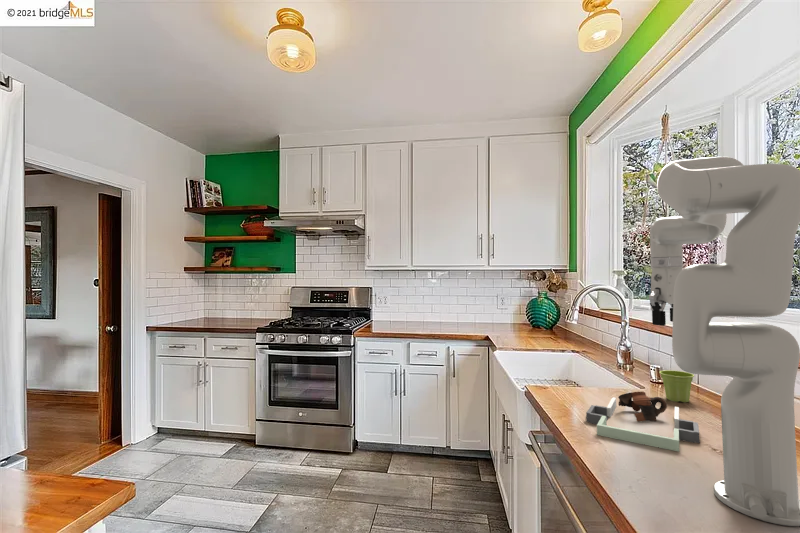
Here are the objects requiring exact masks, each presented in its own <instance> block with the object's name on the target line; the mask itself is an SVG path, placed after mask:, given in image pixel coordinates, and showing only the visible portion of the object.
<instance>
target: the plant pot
mask: <svg viewBox="0 0 800 533" xmlns="http://www.w3.org/2000/svg"><path fill="white" fill-rule="evenodd" d="M659 374H660V376H661V378H662V382H663V388H664V393H665V398H666V399H667V400H669V401H671V402H677V403H678V402H681V403H689V402H690V399H691V398H690V396H691V391H692V390H691V389H692V382H693V378H694V377H695V374H692V373H688V372H686V371H683V370H681V371H680V370H671V369H670V370H667V369H666V370H660V371H659Z"/></svg>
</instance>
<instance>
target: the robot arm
mask: <svg viewBox="0 0 800 533" xmlns="http://www.w3.org/2000/svg"><path fill="white" fill-rule="evenodd" d="M656 188H657V189H656V190H657V193H658V196H659V198H660V199H661V200H662V201H663V202H664V203H665V204H666V205H668V206H670V208H672V209H673V210H675V211H676V212H677V214H678V215H679V216H669V217H668V216H667V217H660V218H657V219H656V220H654V222H651V224H650V225H649V236H650V237H649V239H650V240H649V241H650V242H649V243H650V270H651V280H650V294H649V295H648V299H649V305H650V310H651V320H652V325H653V326H654V325H655V326H662V327H663V326H666V321H667V320H666V311H665V307H666V305H667V304H668V305H670V306H671V307H669V321H670V322H672V336H671V338H672V340H671V341H672V342H671V346H672V348H671V349H672V354H673V359H674V361H675V364H676V365H677V366H678V368H679V369H680V370H681V371H682V372H687V373H691V374H693V375H703V376H718V377H719V376H720V377H733V378H732V380H731V381H730V382H729V383H728V384H727V385H726V387H725V388H724V390H723V392H722V394H721V398H720V411H721V414H720V415H721V416H720V417H721V440H722V458H723V460H722V461H723V479H721V480H719V481H716V482H715V483H714V484H713V493H714V495H715V497H717V499H718V500H719V501H720V502H721V503H722V504H724V505H726V506H727V507H729V508H731V509H733V510H735V511H737V512H739V513H741V514H743V515H746V516H748V517H751V518H753V519H757V520H760V521H762V522H767V523H771V524H774V525H781V526H789V527H800V499H799V485H798V484H799V483H798V480H799V479H798V464H797V460H798V458H797V443H796V427H795V426H796V425H795V424H796V422H795V421H796V420H795V419H796V418H795V387H796V386H795V385H796V380H797V373H798V371H799V364H800V345H799V343H798V341H797V338H796V337H795V336H794V335H793V334H791V333H790V332H789V331H788V330H786V329H784V328H782V327H780V326H776V325H773V324H767V323H759V322H758V323H757V322H756V323H755V322H712V319H714V318H768V317H769V318H771V317H777V316H780V315H782V314H783V313H785V312H786V310H787V309H788V306H789V304H790V301H791V291H792V283H793V282H792V281H793V268H794V266H793V265H794V251H795V250H794V249H795V247H794V246H795V239H796V235H797V231H798V228H799V225H800V169H799V168H797V167H795V166H793V165H789V164H783V163H760V164H747V165H745V164H743V162H741V161H740V160H738V159H736V158H733V157H730V156H709V157H700V158H692V159H689V158H688V159H679V160H674V161H671V162H669V163H668V164H666V165H665V166H664V167H663V168H662V169H661V171H660V173H659V175H658V178H657V182H656ZM740 213H747V214H745V215H744V216H743V217H742V218H741V219H740V220H739V221H738V222H737V223H735V225H734V227H732V229H731V230H730V232H729V233H728V235H727V237H726V245H725V246H726V247H725V248H726V252H725V260H724V261H723V262H722V263H699V264H691V265H689V266H686V267H684V263H683V262H684V261H683V245H703V244H708V243H710V242H712V241H714V240H716V238H718V237H719V236H720V235H721V234H722V233H723V231H724V230H725V229H726V228H725V227H726V224H727V220H728V218H727V217H728V216H727V215H729V214H740Z"/></svg>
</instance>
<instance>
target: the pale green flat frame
mask: <svg viewBox="0 0 800 533" xmlns="http://www.w3.org/2000/svg"><path fill="white" fill-rule="evenodd" d="M616 407H617V397H615V396H613V397H612V398H611V399H610V400H609V403H608V404H607V406H602V405H597V404H595V405H594V404H593V405H592V404H591V405H590V406H589V407H588V409H587V410H586V413H585V415H586V416H585V417H586V420H585V421H586V422H587V423H590V424H594V425H596V434H597V435H596V436H602V437H605V438H611V439H616V440H620V441H624V442H625V441H626V442H630V443H635V444H640V445H644V444H645V446H650V447H654V448H658V447H659V449H664V450H669V451H675V452H678V453H679V452H680V441H683V442H688V443H689V442H690V443H698V444H700V443H701V442H700V429H699V422H696V421H693V420H687V419H682V418H680V407H679V406H674V412H673V413H674V414H673V415H674V416H673V417H674V419H673V422H674V428H673V437H670V436H663V435H658V434H652V433H648V432H643V431H637V430H631V429H626V428H621V427H616V426H610V425H607V421H608V420H609V418H611V417H612V416H613V413H614V412H615V409H616Z"/></svg>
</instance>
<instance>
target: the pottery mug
mask: <svg viewBox="0 0 800 533" xmlns="http://www.w3.org/2000/svg"><path fill="white" fill-rule="evenodd" d="M618 399H619V401H618V406H619V407H620V406H621V407H627V408H632V410H633V411H634V412H635V413H634V414H633V415H634V418H635V420H636V422H637V423H640V422H646V421H647V422H649V421H650V422H657V418H658V417H659V415H660V414H662V413H664V412H665V411H666V409H667V407H668V403H667V402H666V399H664V398H663V397H660V396H655V397H654V396H653V397H649V396H647V394H646V392H645V391H631V392H626V393H623V394H621V395H618ZM657 403H659V404H660V407H659V408H657V407H656V406H657Z"/></svg>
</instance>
